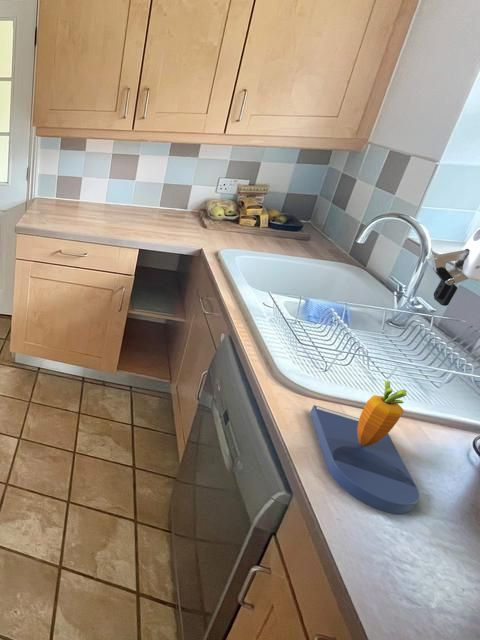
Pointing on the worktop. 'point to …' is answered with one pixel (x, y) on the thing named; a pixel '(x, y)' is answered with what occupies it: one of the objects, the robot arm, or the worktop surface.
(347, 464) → the board
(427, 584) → the worktop surface
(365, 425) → the carrot
